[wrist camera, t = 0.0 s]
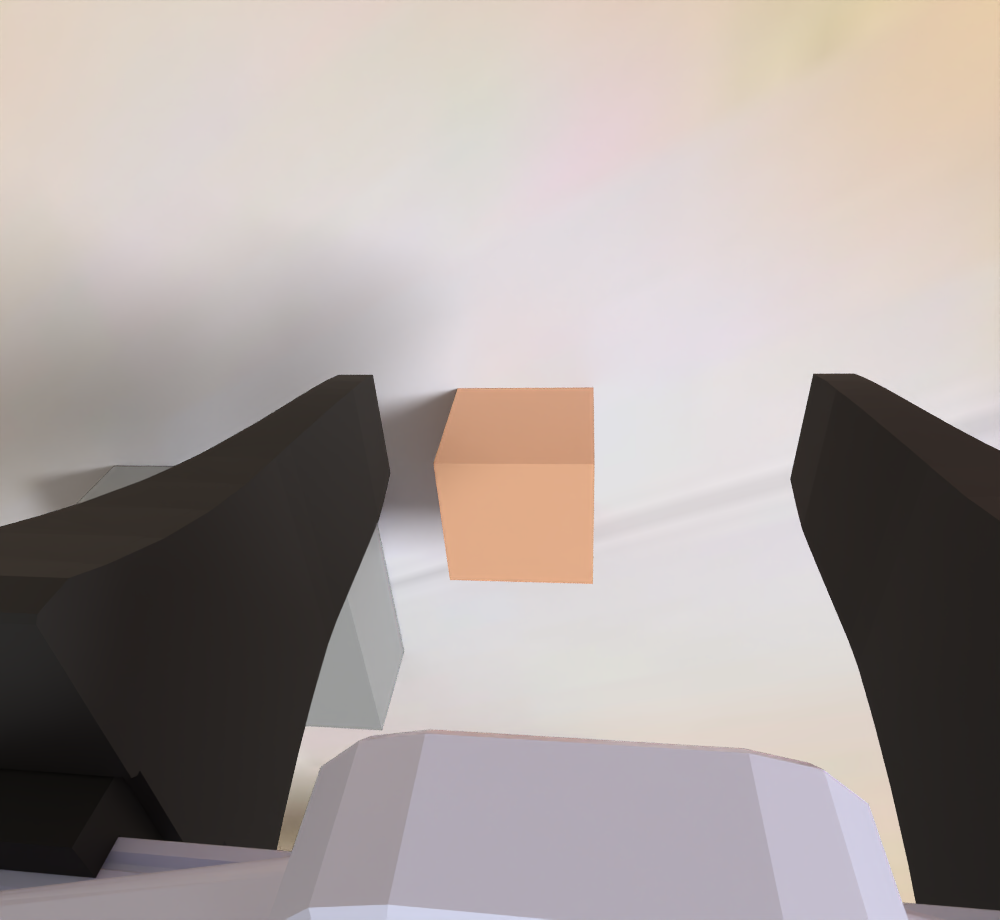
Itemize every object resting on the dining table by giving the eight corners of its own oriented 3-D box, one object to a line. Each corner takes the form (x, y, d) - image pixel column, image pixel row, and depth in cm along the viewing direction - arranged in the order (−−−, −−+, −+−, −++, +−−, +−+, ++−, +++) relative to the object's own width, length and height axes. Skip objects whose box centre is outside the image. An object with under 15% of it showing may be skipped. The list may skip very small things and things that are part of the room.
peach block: (592, 495, 25) (592, 583, 21) (469, 494, 26) (450, 579, 22) (593, 386, 23) (594, 464, 19) (457, 387, 23) (433, 463, 19)
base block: (404, 651, 31) (382, 730, 28) (194, 642, 32) (149, 717, 29) (365, 468, 25) (332, 539, 22) (113, 466, 27) (47, 533, 23)
